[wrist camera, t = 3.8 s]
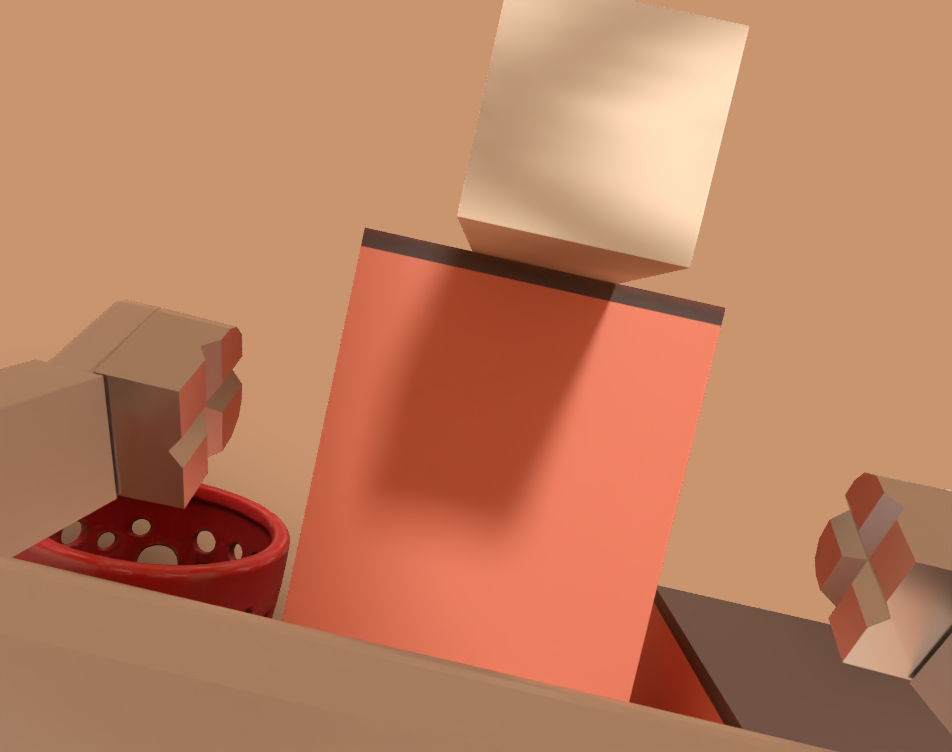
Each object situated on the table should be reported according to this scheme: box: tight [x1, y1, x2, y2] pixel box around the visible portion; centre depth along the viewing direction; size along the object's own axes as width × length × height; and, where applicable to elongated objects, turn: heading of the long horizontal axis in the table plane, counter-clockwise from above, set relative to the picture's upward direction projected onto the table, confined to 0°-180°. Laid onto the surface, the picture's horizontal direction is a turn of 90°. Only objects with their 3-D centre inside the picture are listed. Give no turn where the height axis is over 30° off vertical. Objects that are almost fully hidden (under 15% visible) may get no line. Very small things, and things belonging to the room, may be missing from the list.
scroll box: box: [457, 0, 749, 284], centre depth 21 cm, size 4×17×4 cm, turn 179°
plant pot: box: [12, 484, 290, 619], centre depth 38 cm, size 13×13×12 cm
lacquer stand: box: [282, 228, 952, 752], centre depth 25 cm, size 22×12×26 cm, turn 89°
